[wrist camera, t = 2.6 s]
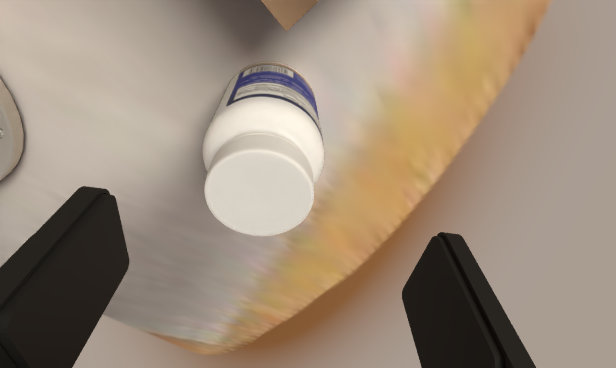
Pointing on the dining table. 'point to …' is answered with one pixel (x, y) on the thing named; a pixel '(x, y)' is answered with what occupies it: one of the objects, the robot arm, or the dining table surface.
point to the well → (288, 10)
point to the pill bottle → (263, 151)
